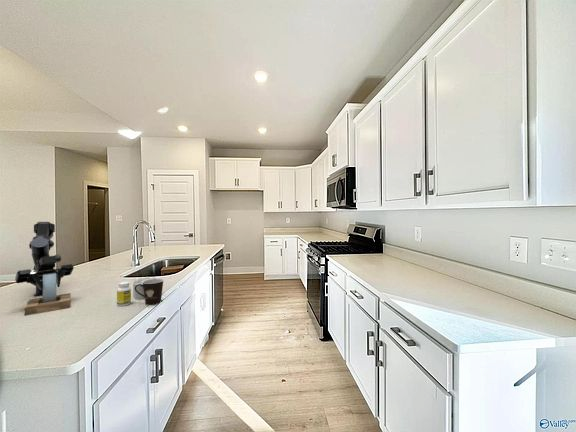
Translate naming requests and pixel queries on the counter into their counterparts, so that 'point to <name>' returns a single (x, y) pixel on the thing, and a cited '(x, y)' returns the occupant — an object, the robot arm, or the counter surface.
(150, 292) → the coffee mug
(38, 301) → the holder
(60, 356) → the counter surface
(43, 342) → the counter surface
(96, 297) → the counter surface
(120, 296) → the supplement bottle
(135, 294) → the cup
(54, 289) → the peg
